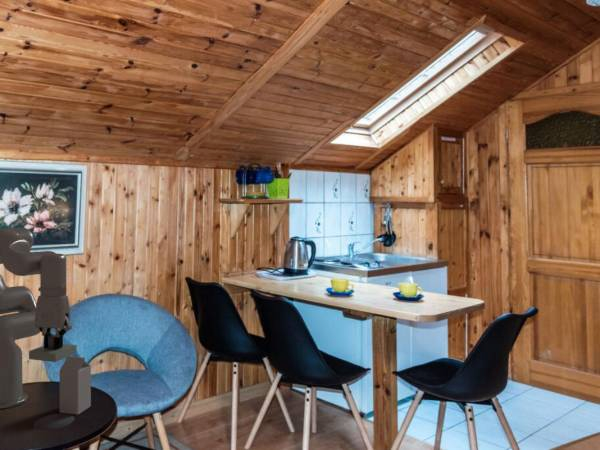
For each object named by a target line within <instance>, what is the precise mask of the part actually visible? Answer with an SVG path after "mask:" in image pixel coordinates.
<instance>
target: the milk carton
mask: <svg viewBox="0 0 600 450" xmlns="http://www.w3.org/2000/svg"><path fill="white" fill-rule="evenodd" d="M91 370H92V367H91V364H89V363H88V362H87V361H86V360H85V357H83V356H73V355H71V356H68V357H66V358H65V360H64V362H63V364H62V365H61V367H60V369H59V414H60V413H65V414H71V415H79V414H81V413H83V412H84V411H86V410H87V409H89V408H90V407H91V406H92V400H91V399H92V394H91V393H92V381H91V380H92V377H91V376H92V371H91Z"/></svg>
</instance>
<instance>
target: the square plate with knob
mask: <svg viewBox="0 0 600 450" xmlns="http://www.w3.org/2000/svg"><path fill="white" fill-rule="evenodd" d="M54 337H56V334H52V335H49V336H48V348H44V345H41V346H39V347H36V348H34V349H30V350H29V351H28V359H29V360H33V361H41V362H42V361H43V362H50V363H51V362H52V363H57V362H60V361H61V360H63V359H66V357H68V356H73V355H75V354H77V353H78V352H77V351H78V349H77V344H71V343H70V344H69V343H63V347H62V348H59V349H57V350H55V349H54Z"/></svg>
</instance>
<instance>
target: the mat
mask: <svg viewBox="0 0 600 450" xmlns="http://www.w3.org/2000/svg"><path fill="white" fill-rule="evenodd" d="M74 421H75V416H74V414H69V413H60V412H59V413H53V414H49V415H45V416H43V417H40V418H38V419H36V421H34V423H33V428H34V429H37V430H41V431H52V430H57V429H61V428H64V427H66V426H68V425H71V424H72V423H73V422H74Z"/></svg>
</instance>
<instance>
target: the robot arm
mask: <svg viewBox="0 0 600 450" xmlns="http://www.w3.org/2000/svg"><path fill="white" fill-rule="evenodd" d="M34 240H35V239H34V235H33V233H32V232H31V230H29V229H28V228H25V227H4V228H3V227H2V228H0V265H3V267H4V268H5V270H6V271H8V272H9V273H11V274H13V275H15V276H18V277H19V276H20V277H28V276H33V275H34V276H35V275H39V277H40V278H39V279H40V280H39V281H40V284H39V285H40V287H38V292H40V294H39V295H38V297H37V300H36V299H35V297H34V294H33V292H32V291H31V289H30V288H29V287H27V286H24V285H16V286H7V285H6V282H5V280H4V277H3V276H2V274H0V409H7V408H12V407H17V406H19V405H21V404H24V403H25V402H26V401H28V393H27V392H23V391H24V389H23V387H24V385H23V351H22V349H21V347H20V346H19V345H18V344H17V343H16V340H21V339H22V340H23V339H25V338H29V337H34V336H37V335H39V334H40V333H41V336H43V346H44V348H48V336H49V335H53V333H52V329H54V330H55V331H54V332H55V333H54V334H55V335H56V337H54V349H55V350H57V349H59V348H62V347H63V344H64V343H63V342H64V336H65V334H66V333H67V332H68V331H70V330H72V329H73V325H72V324H71V308H70V301H69V300H70V299H69V296H68V295H67V257H66V255H65V254H64V253H57V252H54V251H51V250H42V251H31V250H32V247H33V245H34Z"/></svg>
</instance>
